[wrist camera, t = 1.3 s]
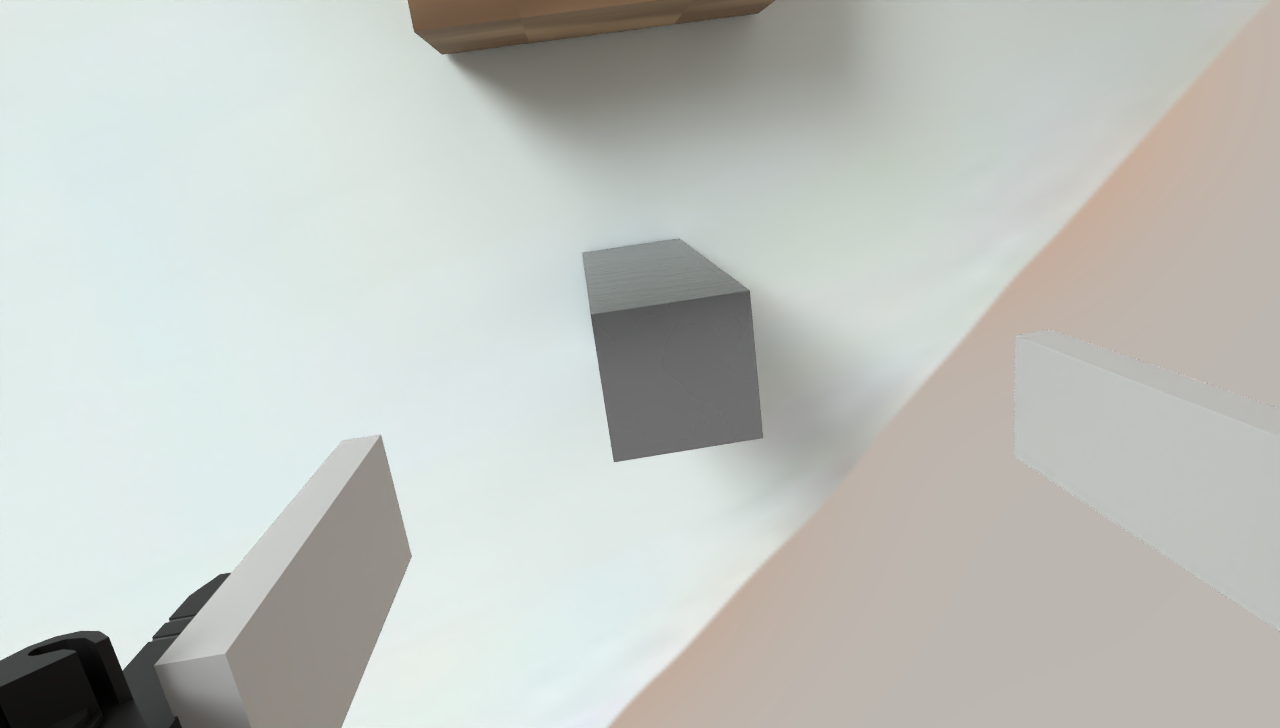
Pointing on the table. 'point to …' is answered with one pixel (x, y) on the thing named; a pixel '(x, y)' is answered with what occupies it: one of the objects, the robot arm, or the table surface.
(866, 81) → the table surface
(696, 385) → the metal peg
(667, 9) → the brown square hole block
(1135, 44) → the table surface
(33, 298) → the table surface
